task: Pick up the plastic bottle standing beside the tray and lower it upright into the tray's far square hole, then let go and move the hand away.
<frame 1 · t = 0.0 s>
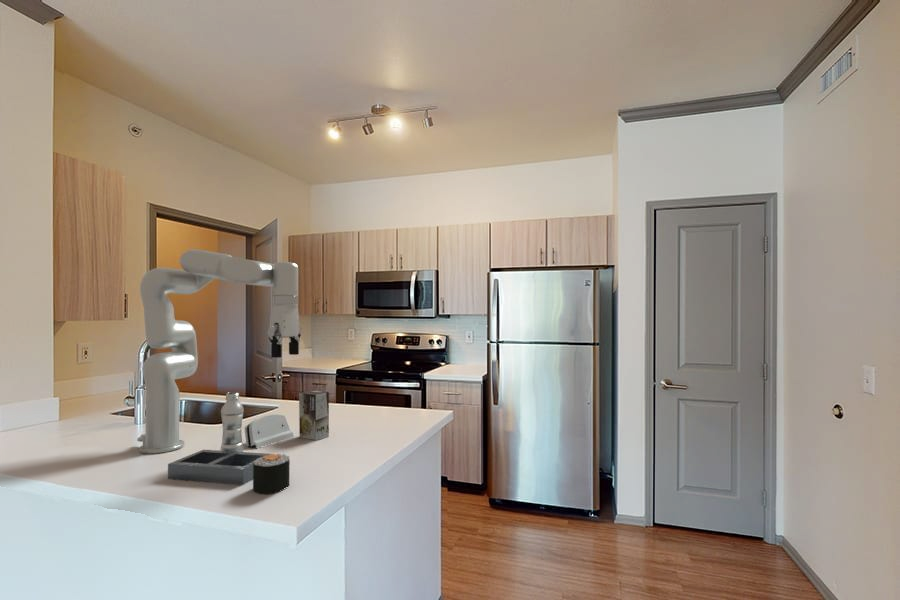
hand: (285, 355, 141), 31 cm above the countertop, tool pointing down, fingers open, 9 cm apart
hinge: (268, 442, 157), on the countertop
sushi: (271, 488, 115), on the countertop
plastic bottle: (231, 459, 139), on the countertop
tray: (221, 473, 126), on the countertop
coffee box: (314, 437, 162), on the countertop
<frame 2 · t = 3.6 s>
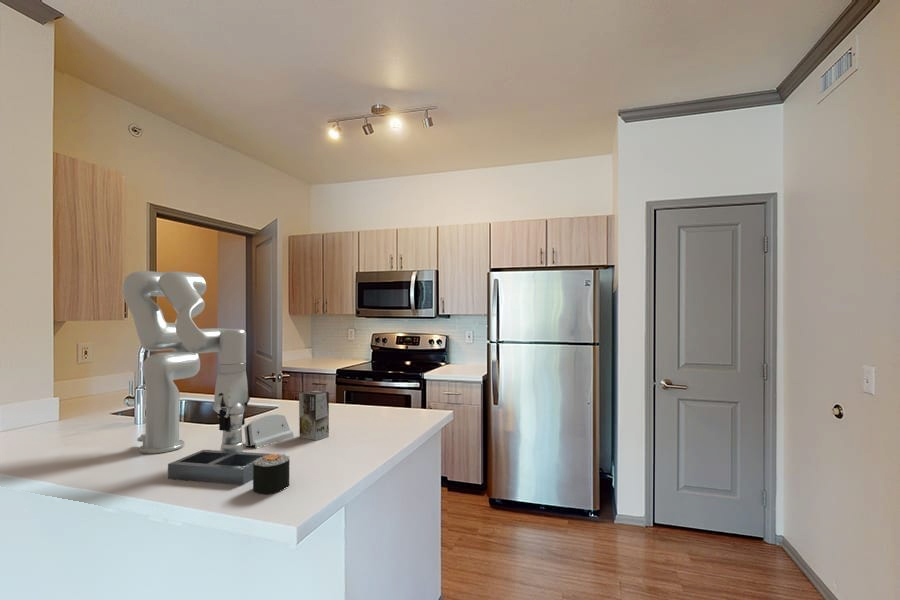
hand: (232, 426, 139), 10 cm above the countertop, tool pointing down, fingers closed on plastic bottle, 6 cm apart
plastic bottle: (231, 458, 139), on the countertop, touching gripper
everything else where it was.
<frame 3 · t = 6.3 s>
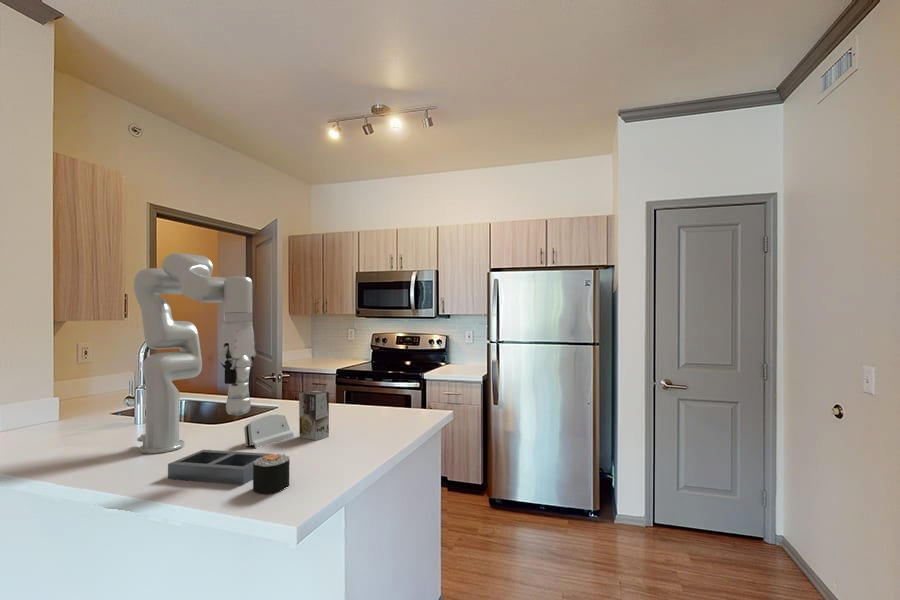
hand: (238, 381, 129), 25 cm above the countertop, tool pointing down, fingers closed on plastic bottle, 6 cm apart
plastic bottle: (238, 415, 129), point 15 cm above the countertop, touching gripper
everything else where it was.
when the fingers open (11 cm above the countertop, at t = 9.3 s): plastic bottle drops 1 cm, resting in tray.
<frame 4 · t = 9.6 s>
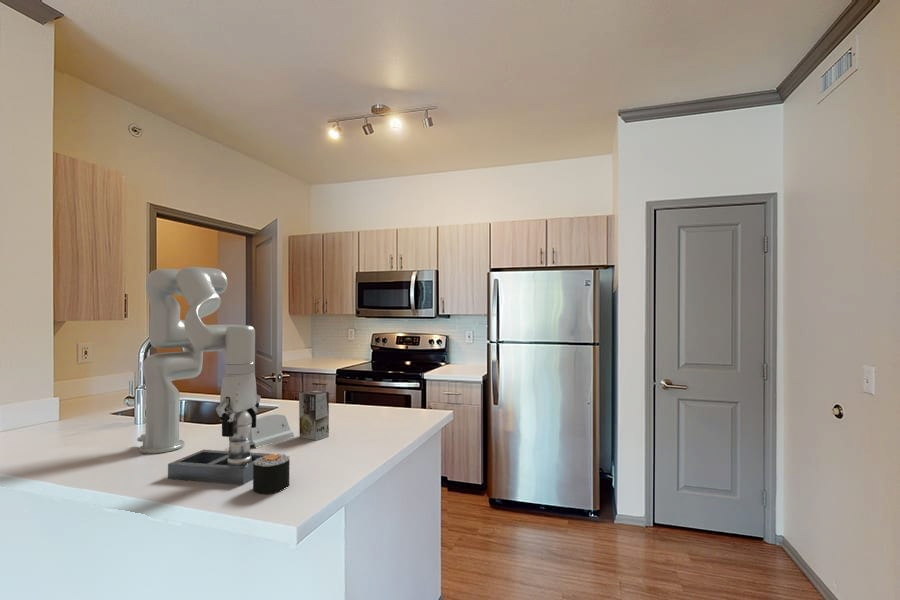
hand: (239, 431, 125), 12 cm above the countertop, tool pointing down, fingers open, 9 cm apart
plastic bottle: (239, 474, 125), resting in tray
everything else where it was.
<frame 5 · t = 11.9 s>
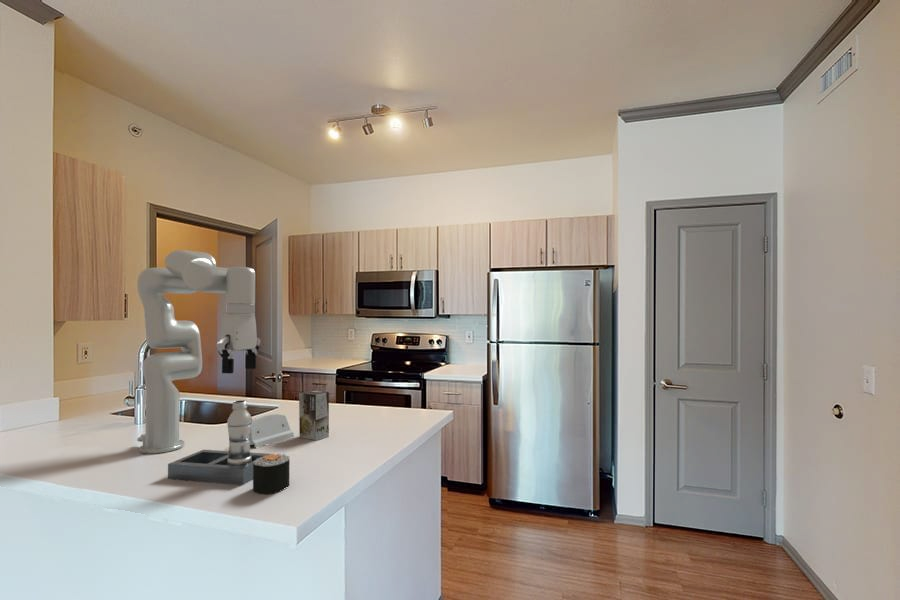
hand: (239, 370, 128), 28 cm above the countertop, tool pointing down, fingers open, 9 cm apart
nothing on the countertop moved.
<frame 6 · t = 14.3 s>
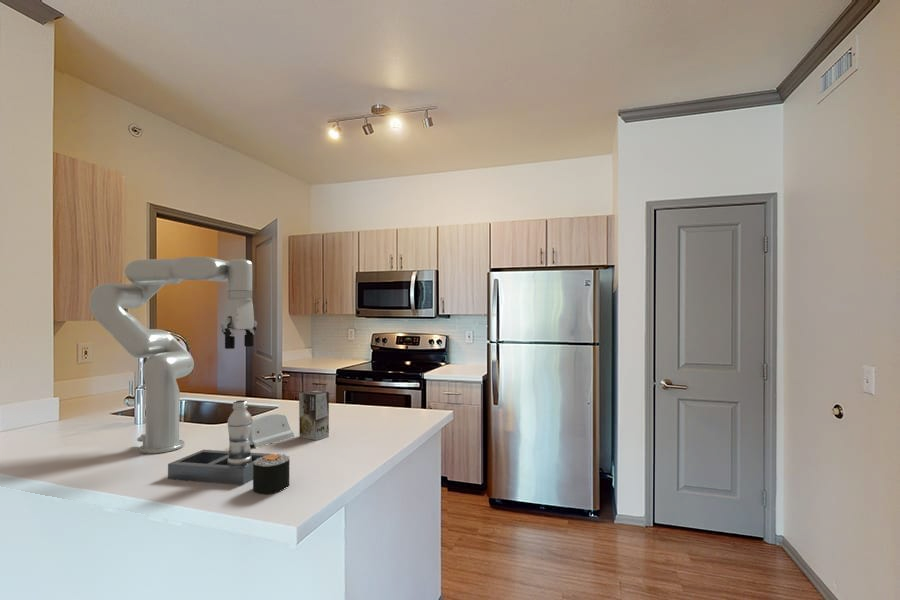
hand: (239, 347, 150), 33 cm above the countertop, tool pointing down, fingers open, 9 cm apart
nothing on the countertop moved.
at the end: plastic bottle 0.4 cm from the target spot on the tray, point 0.0 cm above the tray's base; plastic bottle tilted 0°; the gripper is holding nothing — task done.
